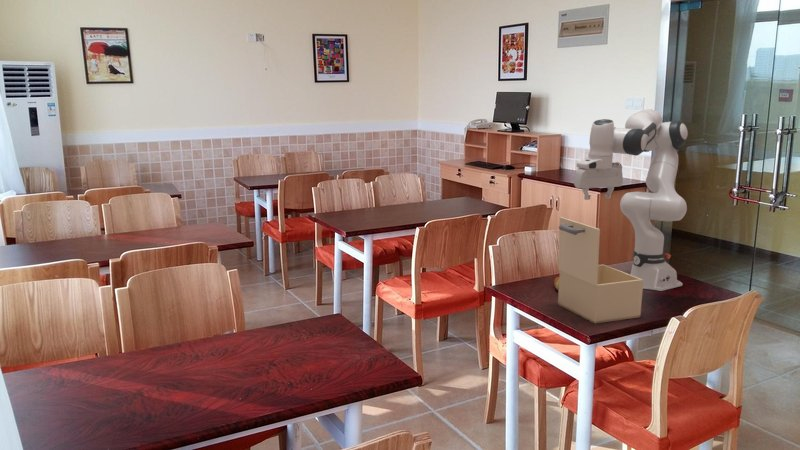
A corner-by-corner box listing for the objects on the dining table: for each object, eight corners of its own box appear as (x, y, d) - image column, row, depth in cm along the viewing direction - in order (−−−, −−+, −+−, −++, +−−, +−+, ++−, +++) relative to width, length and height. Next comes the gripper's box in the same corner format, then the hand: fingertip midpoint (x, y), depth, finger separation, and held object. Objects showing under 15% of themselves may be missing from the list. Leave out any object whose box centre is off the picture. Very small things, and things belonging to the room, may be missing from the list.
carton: (600, 298, 256) (603, 264, 253) (640, 317, 236) (643, 279, 233) (557, 304, 249) (560, 268, 246) (594, 323, 229) (597, 285, 226)
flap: (561, 217, 242) (548, 218, 240) (599, 229, 222) (585, 230, 220) (559, 269, 246) (546, 270, 244) (597, 285, 226) (583, 287, 224)
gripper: (616, 161, 255) (614, 196, 258) (572, 162, 247) (570, 198, 250) (627, 162, 249) (624, 198, 252) (583, 164, 242) (580, 201, 244)
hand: (597, 198), depth 251 cm, fingers open, 8 cm apart
